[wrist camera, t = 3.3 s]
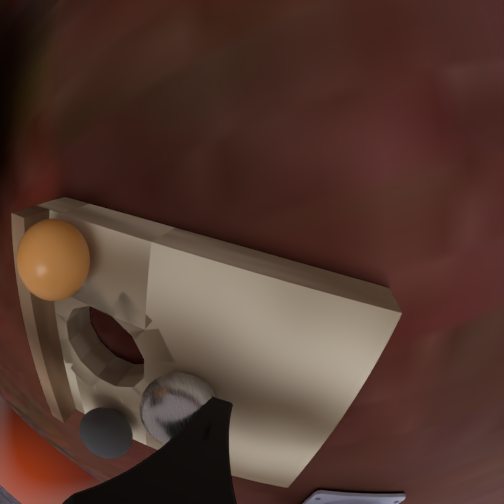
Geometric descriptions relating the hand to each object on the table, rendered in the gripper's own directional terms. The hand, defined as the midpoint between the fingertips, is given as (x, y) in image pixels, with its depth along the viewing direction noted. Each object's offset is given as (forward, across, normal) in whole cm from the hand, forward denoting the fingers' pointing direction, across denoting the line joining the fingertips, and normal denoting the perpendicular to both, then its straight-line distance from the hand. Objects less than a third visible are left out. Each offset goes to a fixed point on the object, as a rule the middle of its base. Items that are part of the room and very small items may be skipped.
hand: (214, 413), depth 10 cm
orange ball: (0, +7, -4) cm, 8 cm away
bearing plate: (+3, +2, +1) cm, 4 cm away
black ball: (0, +5, +5) cm, 8 cm away
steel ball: (0, +1, 0) cm, 1 cm away
